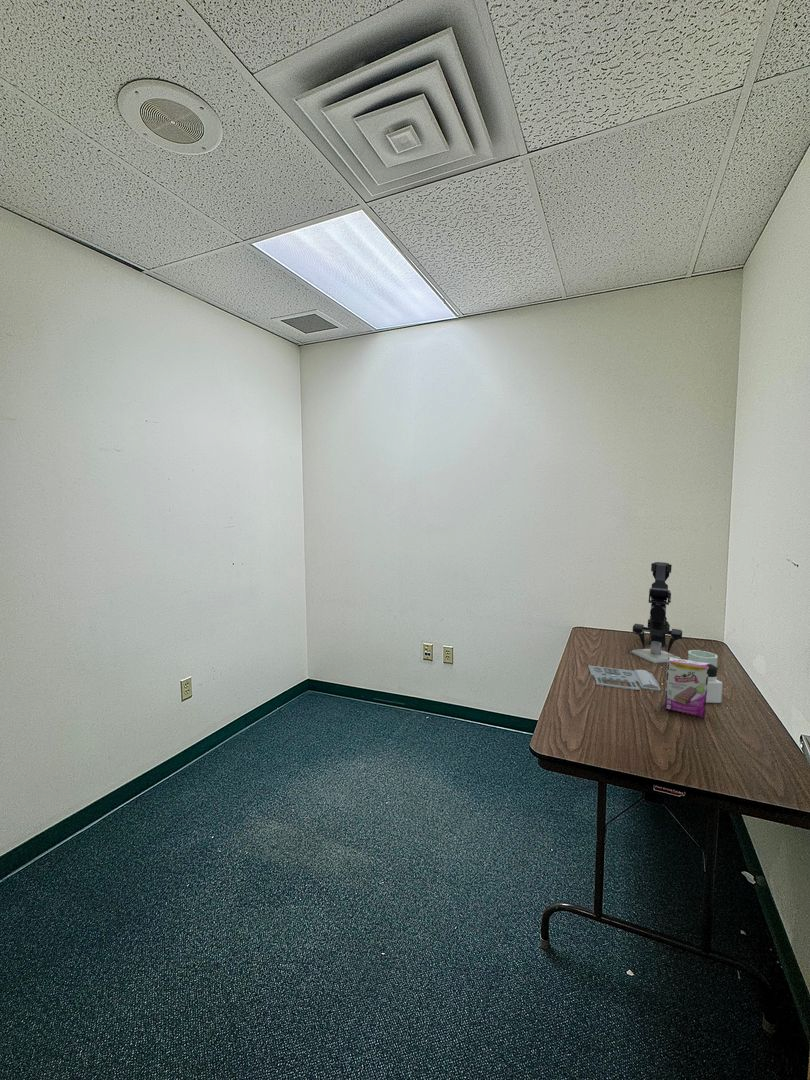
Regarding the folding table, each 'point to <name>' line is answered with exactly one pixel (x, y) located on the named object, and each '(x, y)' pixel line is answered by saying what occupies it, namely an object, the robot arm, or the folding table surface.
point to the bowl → (702, 657)
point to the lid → (654, 653)
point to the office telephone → (624, 678)
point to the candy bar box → (686, 686)
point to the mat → (648, 659)
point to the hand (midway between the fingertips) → (655, 650)
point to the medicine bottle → (713, 686)
